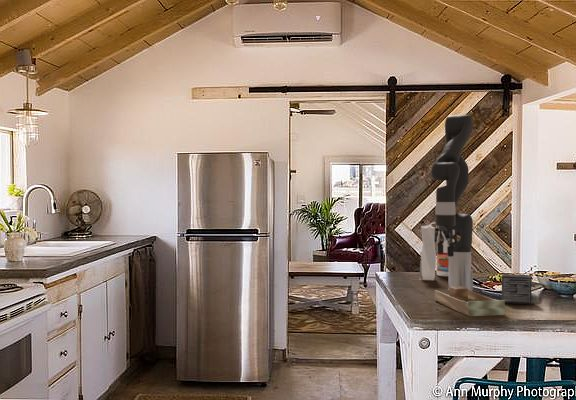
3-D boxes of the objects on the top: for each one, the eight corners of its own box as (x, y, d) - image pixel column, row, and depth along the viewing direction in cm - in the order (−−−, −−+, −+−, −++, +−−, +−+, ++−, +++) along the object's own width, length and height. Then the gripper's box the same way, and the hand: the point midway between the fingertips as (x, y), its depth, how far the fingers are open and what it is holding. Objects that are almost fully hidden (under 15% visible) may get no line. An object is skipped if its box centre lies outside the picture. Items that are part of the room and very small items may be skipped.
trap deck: (466, 299, 224) (466, 286, 224) (504, 314, 197) (504, 300, 197) (434, 300, 222) (434, 287, 222) (468, 316, 194) (469, 301, 194)
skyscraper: (437, 278, 276) (437, 221, 275) (437, 281, 268) (438, 222, 267) (419, 278, 277) (419, 221, 277) (419, 280, 270) (419, 222, 269)
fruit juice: (453, 273, 289) (453, 219, 289) (458, 276, 280) (458, 220, 279) (434, 273, 290) (435, 219, 289) (438, 276, 280) (439, 220, 280)
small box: (530, 301, 220) (530, 274, 219) (531, 304, 213) (532, 277, 213) (501, 299, 223) (501, 273, 223) (501, 303, 217) (502, 276, 217)
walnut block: (461, 299, 214) (461, 286, 214) (467, 302, 209) (467, 288, 209) (449, 299, 213) (449, 286, 213) (455, 302, 208) (455, 289, 208)
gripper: (463, 214, 212) (463, 257, 213) (445, 212, 226) (445, 252, 227) (444, 214, 211) (444, 257, 211) (428, 212, 225) (428, 253, 225)
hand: (445, 255), depth 219 cm, fingers open, 8 cm apart
